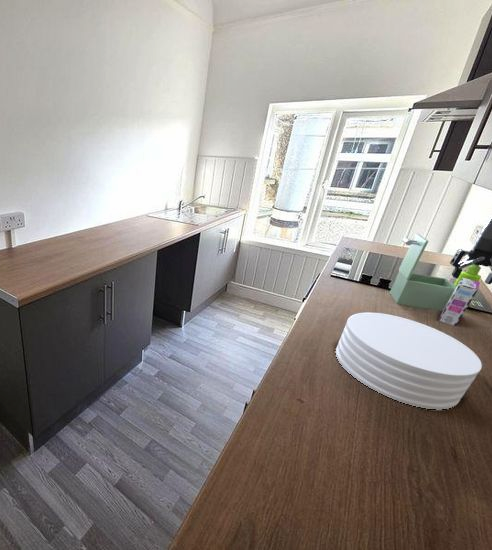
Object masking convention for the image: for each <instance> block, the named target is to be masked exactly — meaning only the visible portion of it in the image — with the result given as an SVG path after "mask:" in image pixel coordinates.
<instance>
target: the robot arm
mask: <svg viewBox="0 0 492 550" xmlns="http://www.w3.org/2000/svg"><path fill="white" fill-rule="evenodd" d="M465 256H466V257H467V258H465ZM463 258H465V259H463ZM462 259H463V260H462ZM473 264H475V265H479V266H483V267H487V268H489V269H490V271H491V272H488V275H487V277H486V279H484V283H485V284H486V285H491V284H492V214H491V215H490V217H489V219H488V221H487V222H486V224H485V225H484V226H483V227H482V229H481V230H480V232H479V235H478V237H477V238H476V240H475V242H474V243H473V245H472V248H471V249H470V250H469V251H468V250H463V249H462V248H458V249H457V250H456V252H455V253H454V255H453V257H452V258H451V260H450V262H449V265H451V266H452V267H454V269H453V271H452V272H451V276H452V278H454V279H456V280H457V279H458V277H459V276H460V274H461V272H463V270H464V269H465V268H468V267H469V266H471V265H473Z"/></svg>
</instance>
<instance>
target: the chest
mask: <svg viewBox="0 0 492 550" xmlns="http://www.w3.org/2000/svg"><path fill="white" fill-rule="evenodd" d="M455 289H456V287H455V286H454V283H452V282H451V281H450V280H448V279H447V278H444V277H439V276H432V275H427V274H420V273H414V272H413V273H412V275H411V277H410V279H409V280H408V279H406V278H405V277H404V275H403V274H402V273H401V272H400V271H399V270H398V273H397V275H396V278H395V280H394V282H393V284H392V286H391V288H390V290H389V294H390V296H391V297H392V298H393V301H395V303H396V304H397V305H402V306H407V307H413V308H416V309H417V308H418V309H422V310H429V309H430V310H434V311H440V312H442V311H443V310H444V308H445V306H446V304H447V303H448V301H449V299H450V297H451V296H452V294H453V292H454V291H455Z"/></svg>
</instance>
